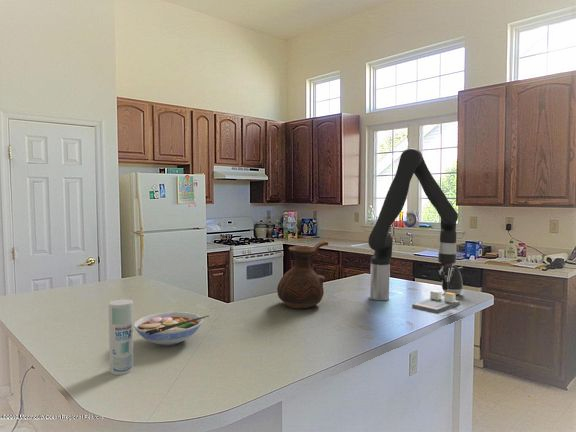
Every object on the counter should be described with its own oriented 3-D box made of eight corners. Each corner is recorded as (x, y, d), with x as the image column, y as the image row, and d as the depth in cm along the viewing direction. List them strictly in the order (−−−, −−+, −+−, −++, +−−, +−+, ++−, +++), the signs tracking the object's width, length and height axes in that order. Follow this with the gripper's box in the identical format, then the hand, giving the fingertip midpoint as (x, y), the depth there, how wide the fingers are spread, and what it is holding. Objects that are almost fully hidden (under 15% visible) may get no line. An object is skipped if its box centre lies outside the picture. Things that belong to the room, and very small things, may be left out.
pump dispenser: (466, 296, 213) (467, 266, 213) (445, 296, 214) (446, 266, 213) (458, 291, 224) (459, 263, 223) (438, 291, 224) (439, 263, 223)
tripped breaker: (452, 302, 195) (452, 294, 194) (444, 301, 197) (444, 293, 197) (455, 301, 197) (455, 293, 196) (447, 300, 200) (447, 292, 199)
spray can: (112, 376, 118) (111, 306, 117) (107, 369, 123) (106, 301, 122) (136, 371, 122) (135, 302, 121) (130, 363, 127) (129, 298, 126)
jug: (306, 314, 180) (307, 244, 178) (267, 306, 193) (268, 240, 191) (333, 304, 197) (334, 240, 195) (296, 296, 210) (296, 236, 208)
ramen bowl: (179, 326, 163) (178, 305, 162) (218, 340, 148) (218, 317, 148) (117, 344, 144) (117, 320, 143) (156, 361, 129) (156, 335, 129)
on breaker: (438, 299, 200) (438, 292, 199) (430, 298, 203) (430, 291, 202) (441, 298, 202) (441, 291, 201) (433, 297, 205) (433, 290, 204)
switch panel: (436, 313, 184) (437, 309, 184) (412, 307, 192) (412, 304, 192) (459, 304, 199) (459, 301, 199) (435, 299, 207) (435, 296, 207)
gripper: (448, 254, 186) (446, 293, 187) (461, 252, 195) (459, 288, 196) (432, 252, 191) (430, 290, 193) (446, 249, 201) (444, 285, 202)
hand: (445, 289), depth 195 cm, fingers closed
